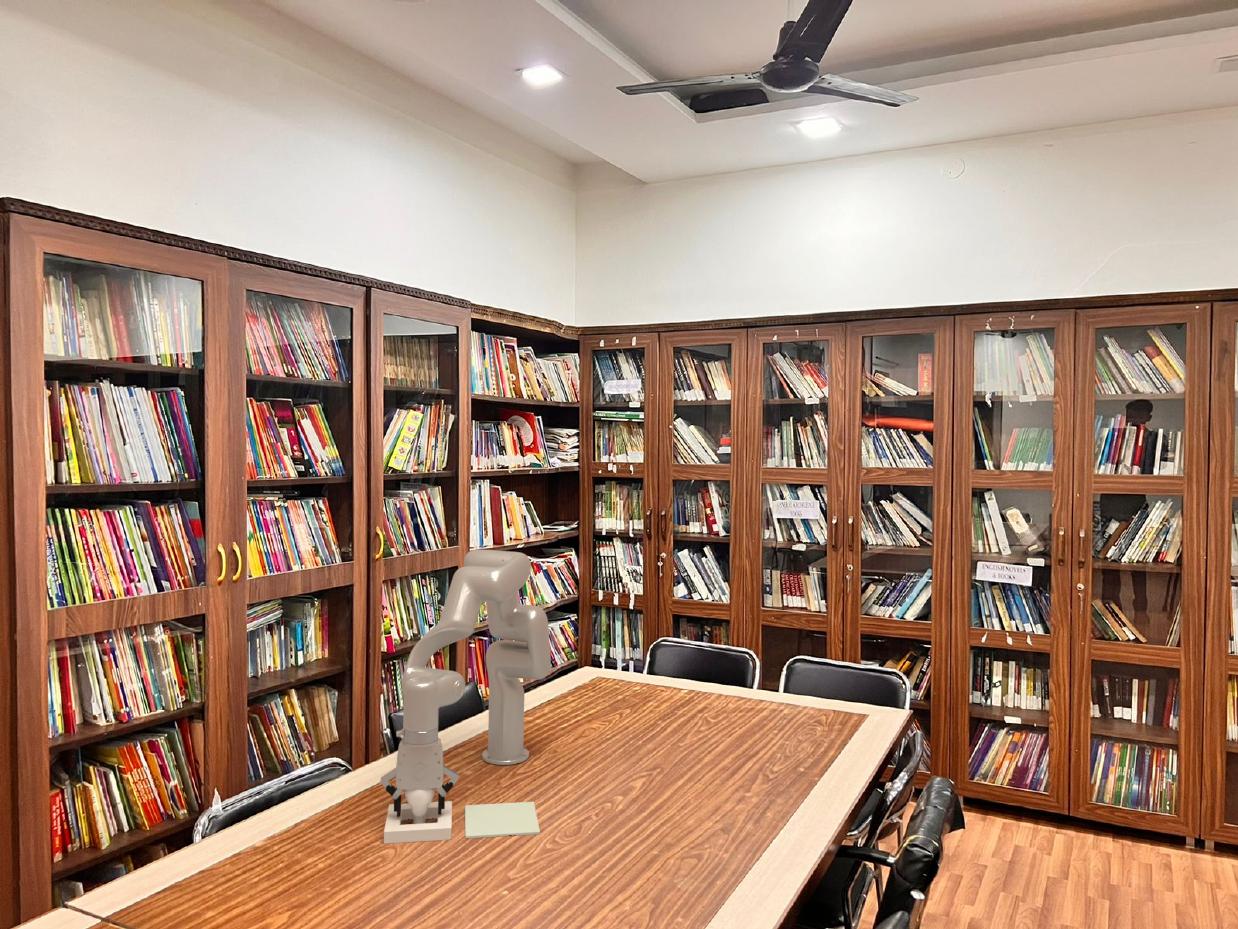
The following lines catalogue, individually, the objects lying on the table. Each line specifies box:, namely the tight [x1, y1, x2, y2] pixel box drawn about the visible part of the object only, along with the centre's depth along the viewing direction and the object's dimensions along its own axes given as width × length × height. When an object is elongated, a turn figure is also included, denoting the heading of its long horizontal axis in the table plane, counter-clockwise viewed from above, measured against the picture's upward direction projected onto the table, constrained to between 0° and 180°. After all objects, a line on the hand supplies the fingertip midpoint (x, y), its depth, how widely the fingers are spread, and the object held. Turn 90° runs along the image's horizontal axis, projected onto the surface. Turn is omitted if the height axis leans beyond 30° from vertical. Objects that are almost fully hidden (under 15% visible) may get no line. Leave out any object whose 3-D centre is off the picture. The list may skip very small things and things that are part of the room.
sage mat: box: [464, 801, 541, 839], centre depth 195 cm, size 16×16×1 cm
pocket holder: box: [383, 800, 453, 845], centre depth 191 cm, size 14×14×2 cm
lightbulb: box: [404, 789, 436, 824], centre depth 190 cm, size 6×6×11 cm
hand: (419, 813), depth 191 cm, fingers open, 8 cm apart
